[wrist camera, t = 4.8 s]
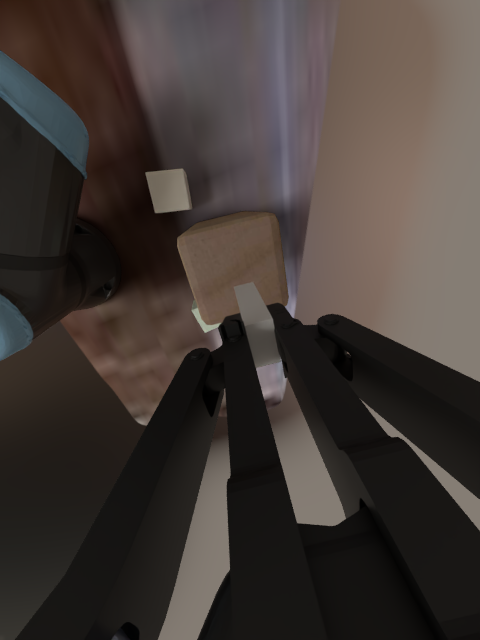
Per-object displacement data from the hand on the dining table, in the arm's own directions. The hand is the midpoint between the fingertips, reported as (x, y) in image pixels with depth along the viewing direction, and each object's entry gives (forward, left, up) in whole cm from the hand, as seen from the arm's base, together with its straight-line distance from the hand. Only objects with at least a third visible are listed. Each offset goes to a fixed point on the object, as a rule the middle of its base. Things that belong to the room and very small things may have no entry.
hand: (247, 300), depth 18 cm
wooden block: (0, 0, -26) cm, 26 cm away
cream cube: (-6, +10, -26) cm, 29 cm away
